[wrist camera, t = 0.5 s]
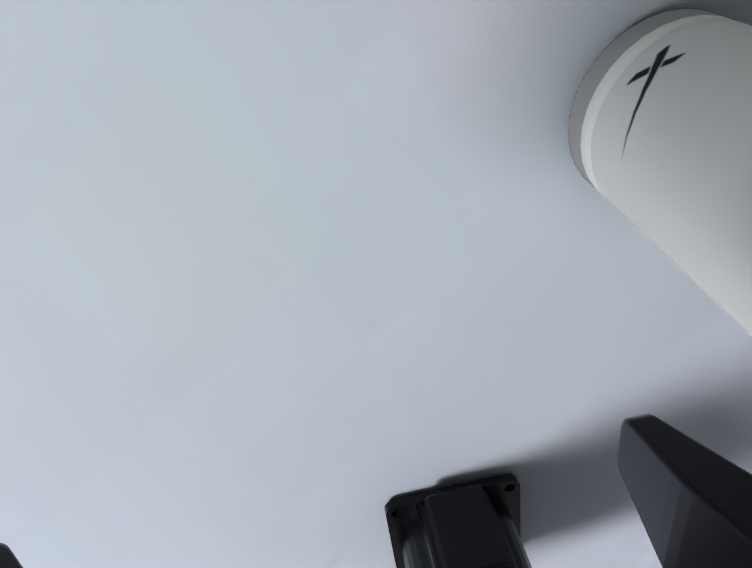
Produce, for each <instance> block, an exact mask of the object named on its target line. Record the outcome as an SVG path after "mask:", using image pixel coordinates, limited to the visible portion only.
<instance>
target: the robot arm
mask: <svg viewBox="0 0 752 568" xmlns="http://www.w3.org/2000/svg"><path fill="white" fill-rule="evenodd" d="M617 459H618V466H619V469H620V472H621V474H622V477H623V479H624V481H625V484H626V486H627V488H628V490H629V493H630V495H631V497H632V499H633V502H634V504H635V506H636V509H637V511H638V513H639V515H640V518H641V520H642V522H643V524H644V527H645V529H646V531H647V534H648V536H649V538H650V540H651V543H652V545H653V547H654V549H655V552H656V554H657V556H658V558H659V560H660V562H661V565H662V567H663V568H752V474H750V473H749V472H747V471H745V470H744V469H742V468H740V467H739V466H737V465H735V464H734V463H732V462H730V461H729V460H727V459H725V458H724V457H722V456H720V455H719V454H717V453H715V452H714V451H712V450H711V449H709V448H707V447H706V446H704V445H702V444H701V443H699V442H697V441H696V440H694V439H692V438H691V437H689V436H687V435H686V434H684V433H682V432H681V431H679V430H677V429H676V428H674V427H672V426H671V425H669V424H668V423H666V422H664V421H663V420H661V419H659V418H658V417H656V416H653V415H649V414H646V415H641V416H635V417H630V418H627V419H625V420H624V421H623V423H622V426H621V433H620V440H619V448H618V456H617ZM385 513H386V518H387V523H388V528H389V533H390V538H391V543H392V548H393V553H394V557H395V562H396V567H397V568H532V567H531V564H530V562H529V559H528V557H527V554H526V552H525V549H524V547H523V544H522V542H521V539H520V484H519V482H518V479H517V477H516V476H515V475H513V474H507V475H502V476H498V477H493V478H489V479H484V480H480V481H475V482H471V483H466V484H462V485H458V486H453V487H449V488H444V489H440V490H435V491H431V492H426V493H422V494H418V495H413V496H409V497H404V498H400V499H395V500H392V501H390V502H388V503H387V504H386V505H385ZM0 568H23V567H22V566H21V564H20V563H19V561H18V560H17V558H16V557H15V555H14V554H13V553H12V551H11V550H10V548H9V547H8V546H7V545H5V544H3V543H0Z"/></svg>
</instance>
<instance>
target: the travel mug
mask: <svg viewBox="0 0 752 568" xmlns="http://www.w3.org/2000/svg"><path fill="white" fill-rule="evenodd" d="M568 139H569V146H570V152H571V155H572V158H573V160H574V163H575V166H576V167H577V169H578V170H579V172H580V173H581V174H582V176H583V177H584V178H585V179H586V180H587V181H588V182H589V183H590V184H591V185H592V186H593V187H594V188H595V189H596V190H597V191H598V192H599V193H600V194H602V195H603V196H604V197H605V198H606V199H607V200H608V201H609V202H610V203H611V204H612V205H613V206H614V207H615V208H616V209H617V210H618V211H619V212H620V213H622V214H623V215H624V216H625V217H626V218H627V219H628V220H629V221H630V222H631V223H632V224H633V225H634V226H635V227H636V228H637V229H638V230H640V231H641V232H642V233H643V234H644V235H645V236H646V237H647V238H648V239H649V240H650V241H651V242H652V243H653V244H654V245H655V246H656V247H658V248H659V249H660V250H661V251H662V252H663V253H664V254H665V255H666V256H667V257H668V258H669V259H670V260H671V261H672V262H673V263H674V264H675V265H677V266H678V267H679V268H680V269H681V270H682V271H683V272H684V273H685V274H686V275H687V276H688V277H689V278H690V279H691V280H692V281H693V282H695V283H696V284H697V285H698V286H699V287H700V288H701V289H702V290H703V291H704V292H705V293H706V294H707V295H708V296H709V297H710V298H711V299H713V300H714V301H715V302H716V303H717V304H718V305H719V306H720V307H721V308H722V309H723V310H724V311H725V312H726V313H727V314H728V315H729V316H730V317H732V318H733V319H734V320H735V321H736V322H737V323H738V324H739V325H740V326H741V327H742V328H743V329H744V330H745V331H746V332H747V333H748V334H750V335H751V336H752V26H751V25H748V24H745V23H742V22H739V21H735V20H732V19H729V18H726V17H723V16H720V15H717V14H714V13H711V12H708V11H705V10H699V9H686V8H685V9H678V10H672V11H665V12H663V13H660V14H657V15H655V16H652V17H649V18H646V19H645V20H643V21H641V22H639V23H638V24H636V25H634V26H633V27H631V28H629V29H627V30H626V31H625V32H624V33H622V34H621V35H620V36H619V37H618V38H616V39H615V40H614V41H613V42H611V43H610V44H609V45H608V46H607V48H606V49H605V50H604V51H603V52H602V53H601V54H600V55H599V57H598V58H597V59H596V60H595V61H594V63H593V64H592V66H591V67H590V69H589V70H588V72H587V73H586V75H585V76H584V78H583V80H582V82H581V84H580V87H579V89H578V91H577V93H576V95H575V98H574V101H573V105H572V109H571V113H570V116H569V129H568Z"/></svg>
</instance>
